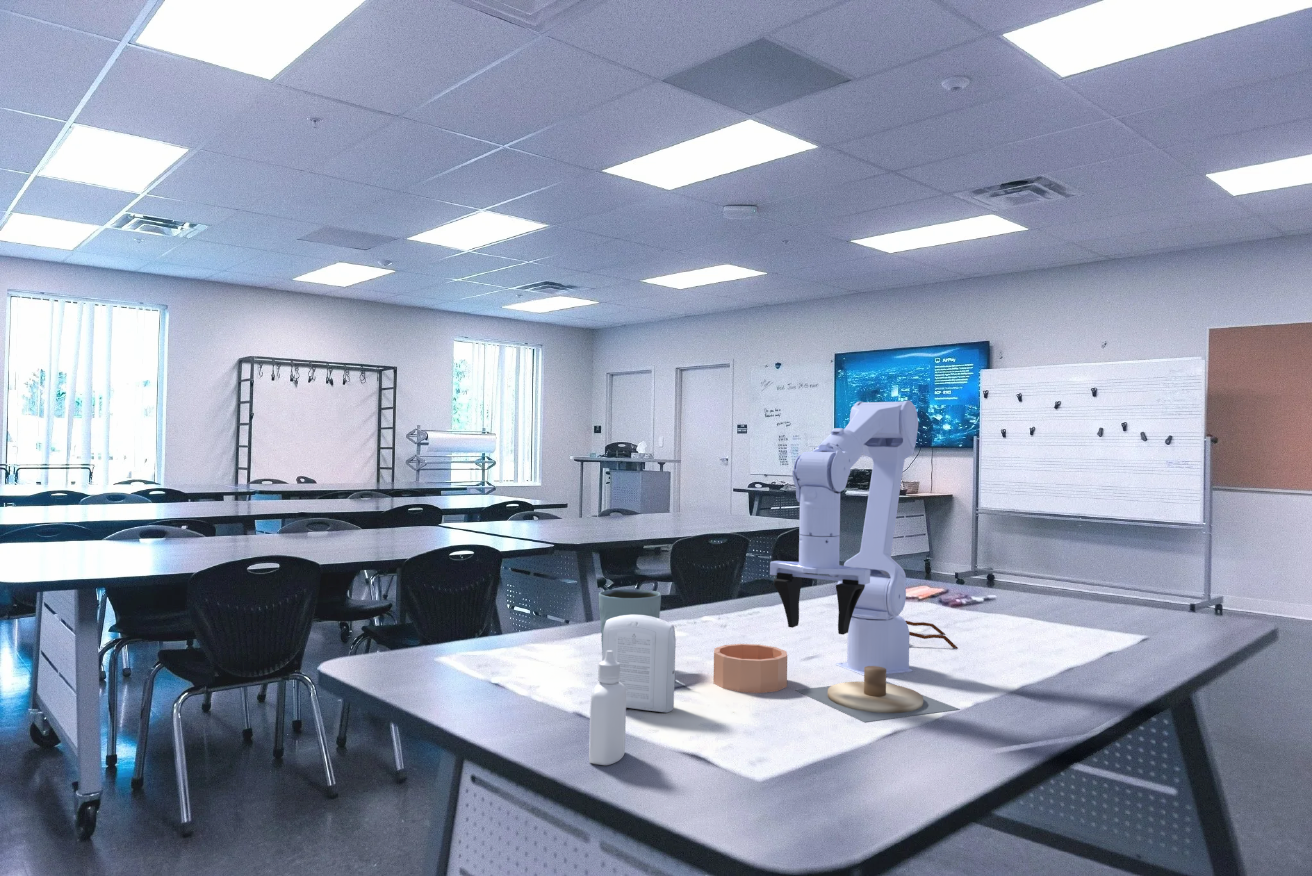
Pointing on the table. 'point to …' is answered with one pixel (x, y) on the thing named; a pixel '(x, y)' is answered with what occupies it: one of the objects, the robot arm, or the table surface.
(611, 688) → the eye dropper bottle
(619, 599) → the green plant pot
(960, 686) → the table surface
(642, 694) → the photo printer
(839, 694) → the lid
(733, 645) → the bowl
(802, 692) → the mat
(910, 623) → the glasses
